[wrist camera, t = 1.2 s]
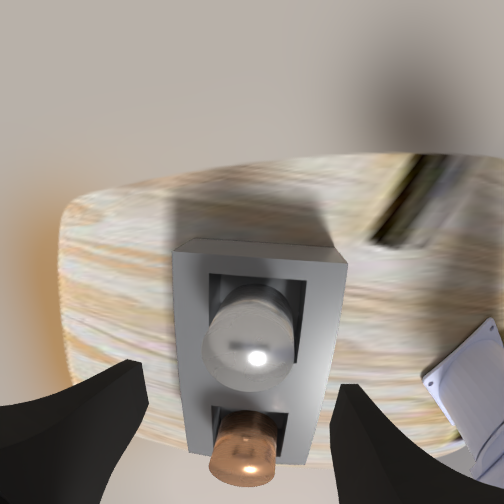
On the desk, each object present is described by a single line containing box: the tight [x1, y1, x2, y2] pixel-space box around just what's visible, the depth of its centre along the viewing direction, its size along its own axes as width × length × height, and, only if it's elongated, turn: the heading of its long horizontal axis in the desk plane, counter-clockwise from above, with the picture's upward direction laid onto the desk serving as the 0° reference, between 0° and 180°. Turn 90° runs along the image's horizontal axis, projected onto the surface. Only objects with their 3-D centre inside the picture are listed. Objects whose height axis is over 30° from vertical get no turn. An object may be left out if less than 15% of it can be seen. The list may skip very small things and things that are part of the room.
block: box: [172, 238, 348, 465], centre depth 18 cm, size 16×9×4 cm, turn 177°
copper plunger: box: [209, 410, 278, 487], centre depth 16 cm, size 4×4×4 cm
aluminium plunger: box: [201, 283, 294, 392], centre depth 14 cm, size 4×4×4 cm
